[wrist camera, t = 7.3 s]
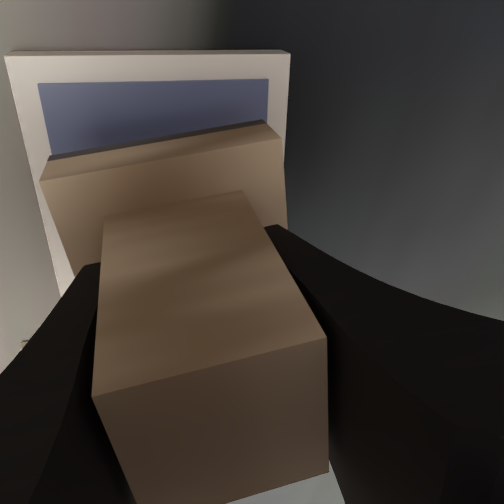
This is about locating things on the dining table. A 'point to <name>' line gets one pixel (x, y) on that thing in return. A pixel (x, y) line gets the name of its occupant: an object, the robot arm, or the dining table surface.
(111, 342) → the stamp
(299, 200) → the dining table surface
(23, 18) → the dining table surface
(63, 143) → the ink pad
